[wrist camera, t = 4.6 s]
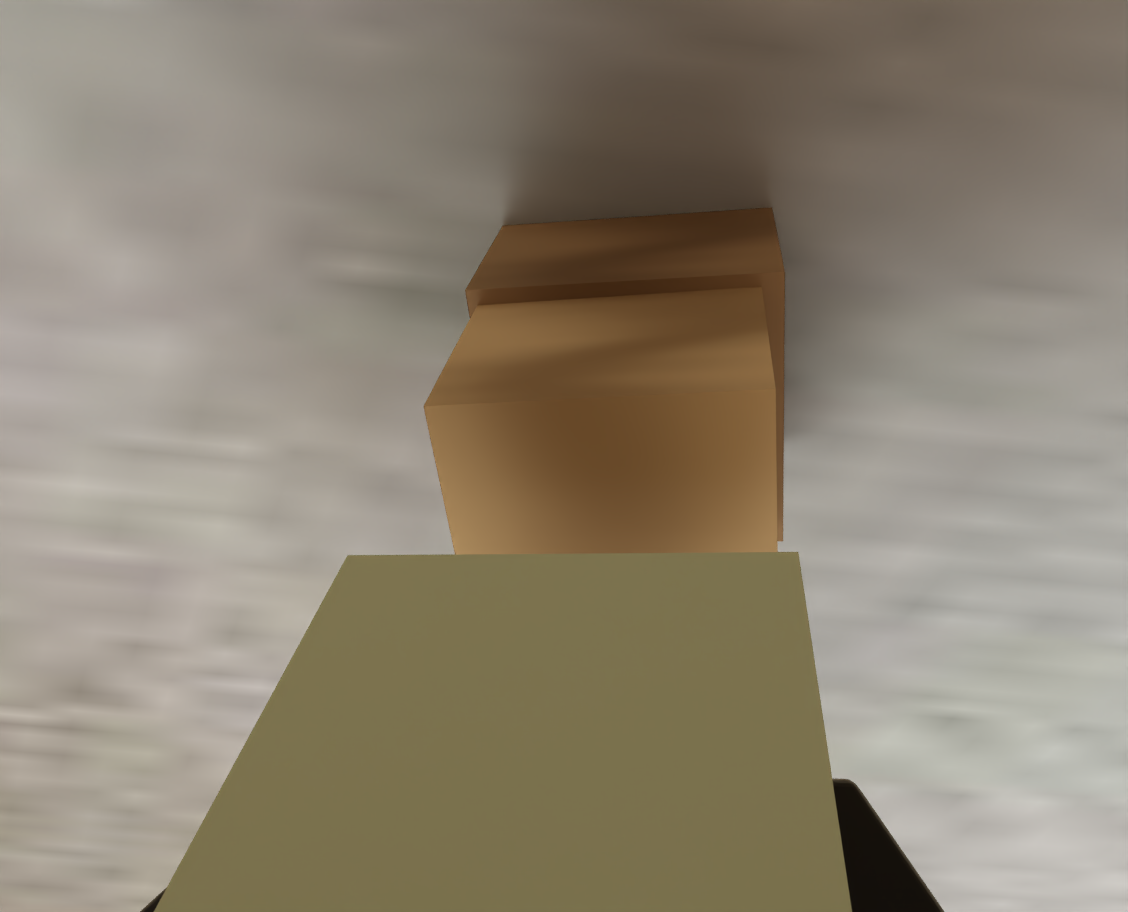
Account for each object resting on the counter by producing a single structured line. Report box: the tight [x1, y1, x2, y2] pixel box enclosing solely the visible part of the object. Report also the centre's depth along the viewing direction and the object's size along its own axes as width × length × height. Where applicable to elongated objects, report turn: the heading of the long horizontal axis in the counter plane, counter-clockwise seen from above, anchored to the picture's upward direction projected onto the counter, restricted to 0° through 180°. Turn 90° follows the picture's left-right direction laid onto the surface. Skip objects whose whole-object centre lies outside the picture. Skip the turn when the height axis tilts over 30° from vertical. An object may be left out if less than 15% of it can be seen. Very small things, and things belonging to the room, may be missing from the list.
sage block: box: [154, 552, 852, 912], centre depth 8 cm, size 4×4×4 cm
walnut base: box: [465, 207, 785, 541], centre depth 18 cm, size 5×5×4 cm
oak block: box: [424, 287, 777, 555], centre depth 15 cm, size 4×4×4 cm
